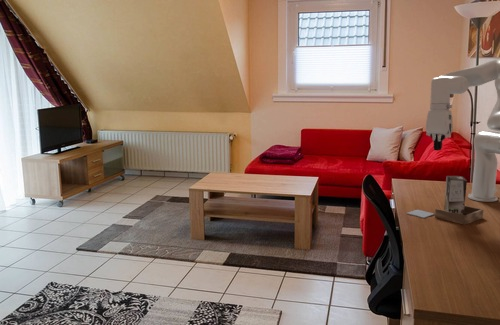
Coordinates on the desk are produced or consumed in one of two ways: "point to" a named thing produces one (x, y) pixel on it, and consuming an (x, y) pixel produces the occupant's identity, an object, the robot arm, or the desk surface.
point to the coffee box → (455, 194)
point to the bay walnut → (470, 216)
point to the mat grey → (420, 213)
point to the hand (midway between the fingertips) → (437, 149)
